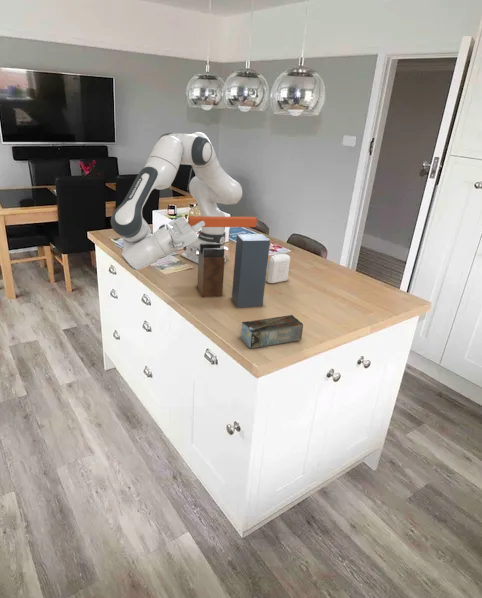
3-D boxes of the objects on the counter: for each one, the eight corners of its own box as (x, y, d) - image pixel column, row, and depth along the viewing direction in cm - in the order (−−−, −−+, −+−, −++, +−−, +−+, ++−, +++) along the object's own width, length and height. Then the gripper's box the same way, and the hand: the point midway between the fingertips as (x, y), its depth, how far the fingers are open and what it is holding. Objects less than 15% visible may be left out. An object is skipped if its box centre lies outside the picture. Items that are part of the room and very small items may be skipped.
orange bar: (189, 227, 142) (189, 218, 140) (188, 224, 144) (188, 216, 143) (256, 227, 148) (257, 218, 147) (253, 224, 151) (254, 216, 149)
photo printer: (282, 277, 188) (286, 251, 182) (288, 280, 184) (292, 254, 179) (264, 281, 182) (267, 254, 177) (270, 284, 179) (274, 257, 174)
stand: (237, 307, 156) (243, 240, 145) (231, 298, 163) (236, 234, 152) (262, 306, 159) (270, 240, 148) (255, 297, 165) (262, 234, 155)
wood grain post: (202, 297, 162) (204, 250, 155) (197, 286, 171) (199, 242, 163) (222, 296, 165) (225, 250, 157) (216, 286, 173) (218, 242, 165)
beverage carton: (239, 337, 136) (241, 319, 133) (290, 329, 143) (293, 312, 140) (249, 349, 129) (251, 331, 126) (302, 341, 136) (305, 323, 134)
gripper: (167, 241, 132) (205, 220, 133) (159, 224, 150) (192, 205, 151) (176, 257, 136) (213, 236, 136) (168, 239, 153) (200, 220, 154)
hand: (202, 220), depth 143 cm, fingers closed on orange bar, 3 cm apart
